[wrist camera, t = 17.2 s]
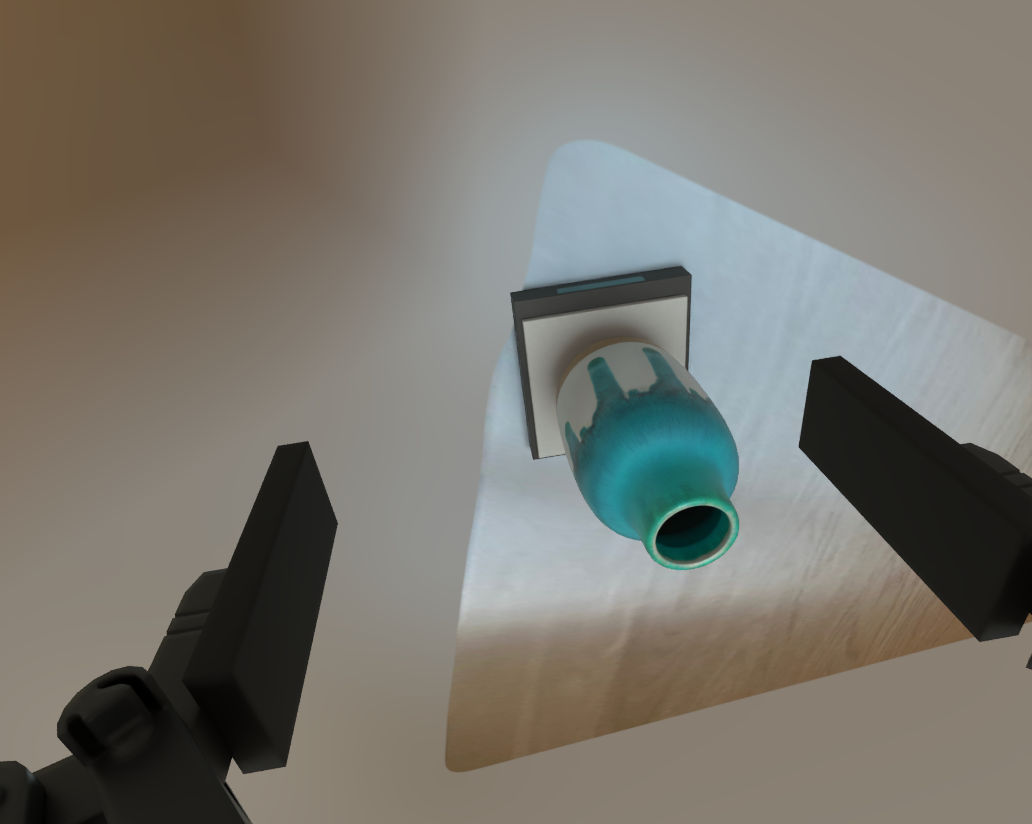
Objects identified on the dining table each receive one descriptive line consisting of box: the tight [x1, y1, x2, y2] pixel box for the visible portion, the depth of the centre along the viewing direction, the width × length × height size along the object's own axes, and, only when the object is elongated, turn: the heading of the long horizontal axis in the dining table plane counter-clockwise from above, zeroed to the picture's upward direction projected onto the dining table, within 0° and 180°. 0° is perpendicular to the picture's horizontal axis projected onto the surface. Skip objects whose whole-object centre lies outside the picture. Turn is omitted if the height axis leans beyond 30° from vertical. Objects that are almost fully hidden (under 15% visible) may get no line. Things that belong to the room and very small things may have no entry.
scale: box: [510, 266, 692, 460], centre depth 51 cm, size 15×14×3 cm
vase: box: [556, 336, 739, 570], centre depth 41 cm, size 11×11×19 cm
